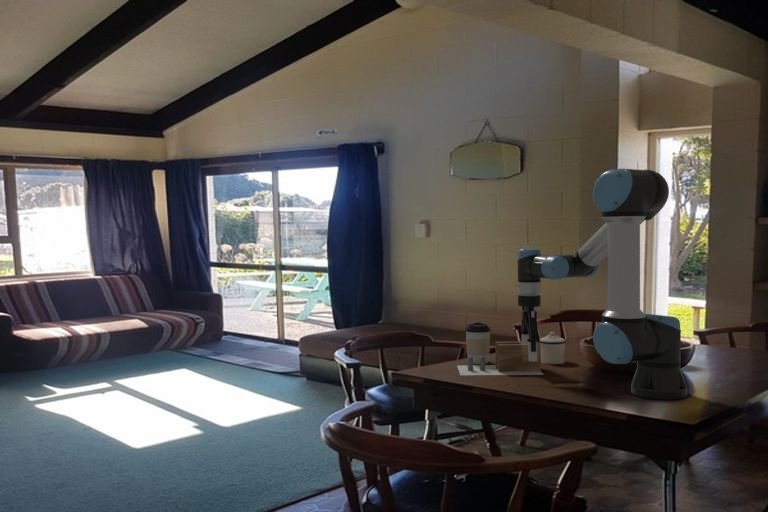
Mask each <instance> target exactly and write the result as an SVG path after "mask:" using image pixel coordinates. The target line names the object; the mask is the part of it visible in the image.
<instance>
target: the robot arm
mask: <svg viewBox="0 0 768 512" xmlns="http://www.w3.org/2000/svg"><path fill="white" fill-rule="evenodd" d="M669 196H670V188H669V184H668V181H667V180H666V178H665V177H664V176H663V175H662V174H661V173H660V172H658V171H655V170H652V169H637V168H635V169H633V168H616V169H614V168H612V169H609V170H606V171H604V172H603V173H601V175H600V176H599V178H597V179H596V181H595V182H594V186H593V189H592V200H593V203H594V204H595V207H596V208H597V209H598V210H600V211H601V219H602V220H603V221H604V222H605V223H604V224H603V225H602V226H601V227H600V228H598V230H597V231H596V232H594V234H593V235H592V236H591V237H590V238H589V239H588V240H587V241H586V242H585V243H584V244H583V245H582V246H581V247H580V248H579V249H578V250H577V251H576V252H574V253H573V254H557V255H556V254H555V255H543V254H541V249H540V248H520V249H518V252H517V284H516V285H515V287H516V288H517V293H518V294H519V295H517V306H518V307H521V309H522V310H521V311H522V313H521V324H520V331H521V332H520V333H521V341H527V342H529V361H537V342H538V341H540V338H539V329H538V319H537V317H538V316H537V314H538V312H537V310H535V308H538V307H540V306H541V305H542V303H541V302H542V301H541V297H542V296H541V294H542V289H541V288H542V286H541V285H542V282H541V279H548V280H551V281H555V280H556V281H557V280H559V281H560V280H563V279H569V278H588V277H592V276H594V275H596V274H597V273H598V270H599V266H600V262H601V261H603V260H604V259H605V258H606V257H607V308H606V310H605V311H604V312H602V314H601V323H599V324H598V325H597V326H596V328H595V329H594V331H593V334H592V338H593V339H592V340H593V341H592V342H593V345H594V348H595V350H596V352H597V354H599V355H600V357H601V359H603V360H604V361H605V362H607V363H610V364H612V365H613V364H614V365H617V364H618V365H619V364H621V365H627V364H628V363H634V362H636V361H637V363H636V364H637V365H636V366H637V367H636V370H635V373H634V375H633V378H632V380H631V385H630V392H631V394H633V395H635V396H638V397H641V398H647V399H653V400H680V399H685V398H687V397H688V387H687V384H686V380H685V377H684V374H683V372H682V369H681V350H682V349H681V348H682V347H681V342H682V340H681V338H682V337H681V335H682V334H681V333H682V330H681V322H680V319H679V318H678V317H676V316H672V315H671V316H669V315H662V314H652V313H644V312H643V311H642V310H641V225H642V224H643V222H645V221H646V222H647V221H650V220H653V218H654V217H655V216H656V215H657V214H658V213H660V212H661V210H663V208H664V207H665V205H666V204H667V201H668V200H669Z"/></svg>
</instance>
